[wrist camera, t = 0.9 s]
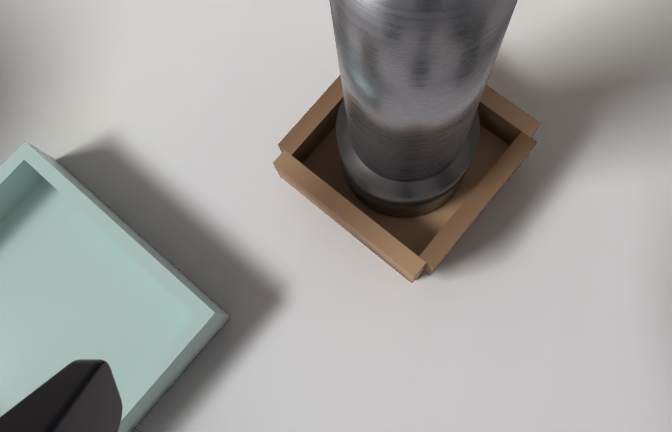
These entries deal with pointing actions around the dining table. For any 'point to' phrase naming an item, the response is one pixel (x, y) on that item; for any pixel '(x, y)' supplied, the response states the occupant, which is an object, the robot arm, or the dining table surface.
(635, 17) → the dining table surface
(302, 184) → the socket block
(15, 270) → the tray
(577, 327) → the dining table surface
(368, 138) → the grey cylinder
